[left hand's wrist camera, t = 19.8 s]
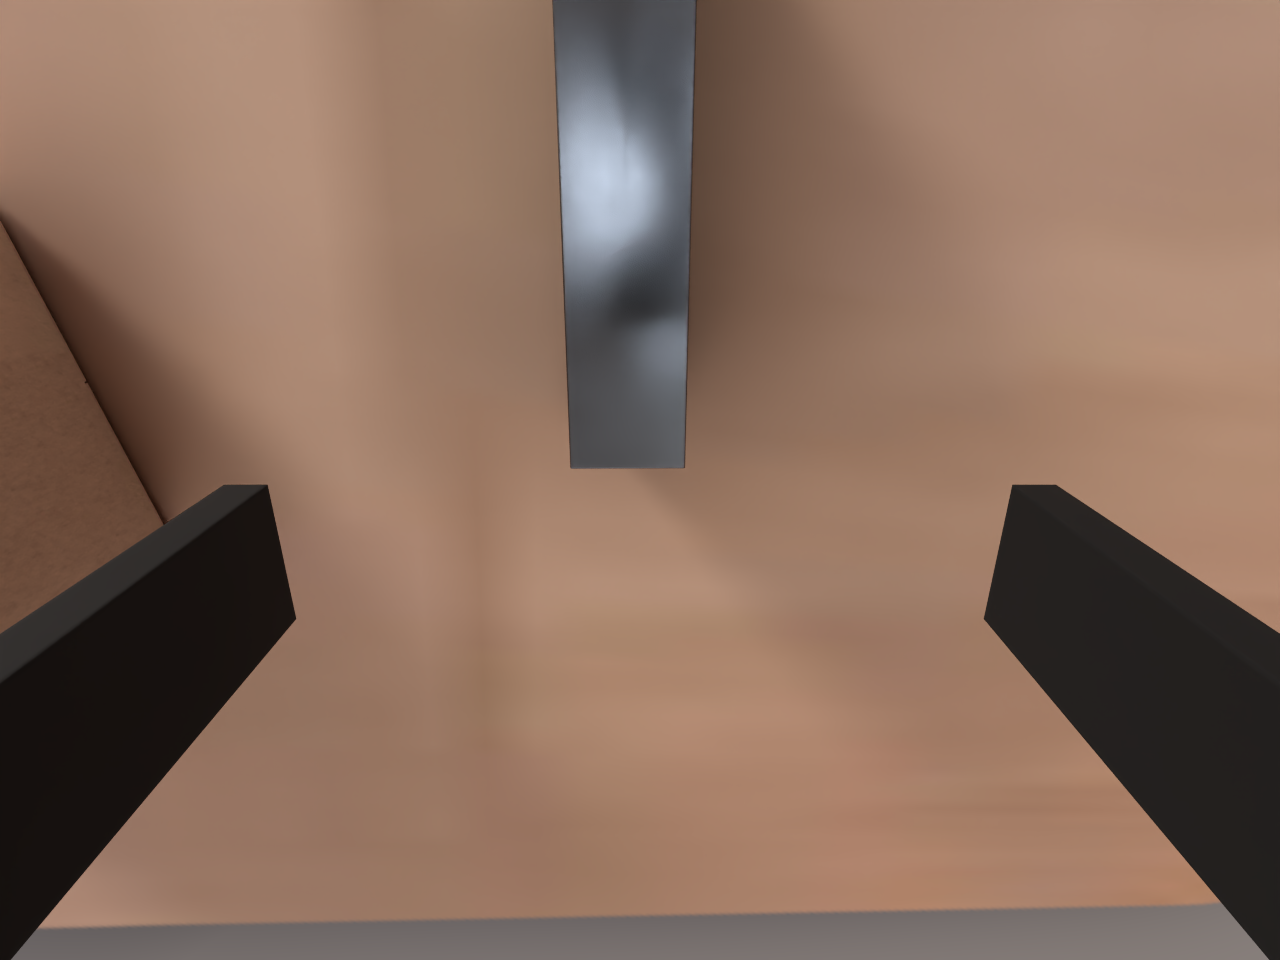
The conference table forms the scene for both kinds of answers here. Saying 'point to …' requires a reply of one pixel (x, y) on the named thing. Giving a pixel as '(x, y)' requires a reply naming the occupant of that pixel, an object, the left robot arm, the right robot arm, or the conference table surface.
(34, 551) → the box
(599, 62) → the bar
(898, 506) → the conference table surface
